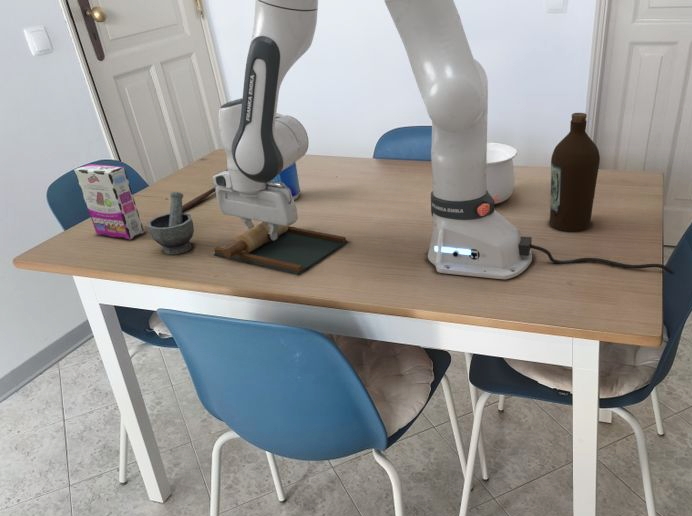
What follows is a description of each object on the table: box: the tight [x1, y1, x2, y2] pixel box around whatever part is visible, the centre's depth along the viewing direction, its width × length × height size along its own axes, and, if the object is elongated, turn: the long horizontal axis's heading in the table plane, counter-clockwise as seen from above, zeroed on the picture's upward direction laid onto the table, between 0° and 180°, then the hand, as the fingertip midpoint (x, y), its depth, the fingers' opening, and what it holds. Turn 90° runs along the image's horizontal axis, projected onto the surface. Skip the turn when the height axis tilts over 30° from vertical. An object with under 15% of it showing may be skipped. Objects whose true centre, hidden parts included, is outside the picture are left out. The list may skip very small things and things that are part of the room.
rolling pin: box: [223, 222, 288, 259], centre depth 144 cm, size 4×23×4 cm, turn 152°
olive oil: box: [549, 112, 601, 232], centre depth 142 cm, size 11×11×25 cm
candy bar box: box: [73, 163, 145, 241], centre depth 150 cm, size 11×5×16 cm, turn 68°
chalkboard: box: [213, 225, 348, 276], centre depth 143 cm, size 24×18×2 cm
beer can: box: [273, 161, 301, 201], centre depth 167 cm, size 8×8×16 cm
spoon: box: [182, 168, 228, 212], centre depth 174 cm, size 11×33×3 cm, turn 158°
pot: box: [486, 141, 518, 205], centre depth 161 cm, size 22×17×12 cm
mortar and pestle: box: [147, 191, 195, 255], centre depth 143 cm, size 11×9×12 cm
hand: (263, 237), depth 144 cm, fingers closed on rolling pin, 4 cm apart
